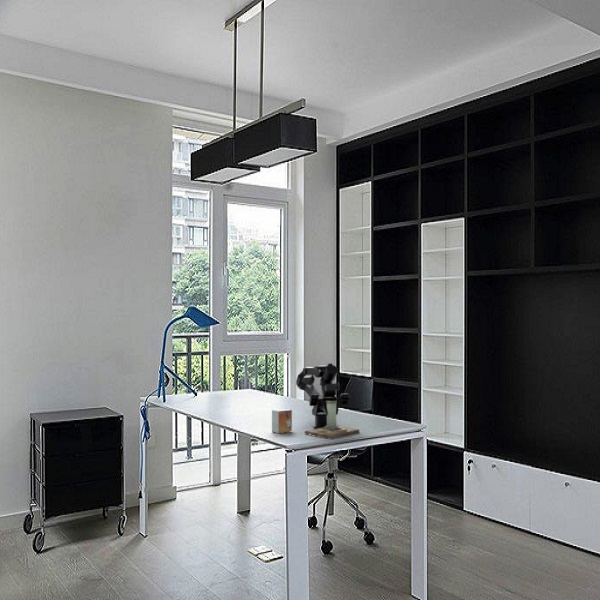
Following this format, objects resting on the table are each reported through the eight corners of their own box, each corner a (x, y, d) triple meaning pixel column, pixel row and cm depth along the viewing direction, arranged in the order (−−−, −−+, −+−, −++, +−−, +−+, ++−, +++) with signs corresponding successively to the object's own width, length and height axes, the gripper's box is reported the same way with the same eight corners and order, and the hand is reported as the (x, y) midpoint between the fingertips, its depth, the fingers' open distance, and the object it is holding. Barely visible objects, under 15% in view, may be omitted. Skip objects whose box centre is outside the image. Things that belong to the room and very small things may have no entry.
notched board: (305, 434, 314) (304, 428, 314) (334, 428, 328) (334, 423, 328) (329, 439, 303) (329, 433, 303) (359, 432, 317) (359, 427, 317)
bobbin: (323, 429, 311) (323, 402, 310) (325, 426, 317) (325, 400, 317) (337, 429, 309) (337, 402, 309) (339, 427, 316) (339, 400, 316)
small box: (278, 434, 315) (278, 411, 315) (271, 432, 320) (271, 409, 320) (292, 432, 320) (292, 409, 320) (285, 430, 324) (285, 408, 324)
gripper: (310, 377, 315) (314, 404, 305) (349, 376, 318) (354, 403, 307) (307, 391, 323) (311, 419, 312) (345, 390, 326) (350, 417, 315)
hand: (332, 414), depth 312 cm, fingers closed on bobbin, 4 cm apart
